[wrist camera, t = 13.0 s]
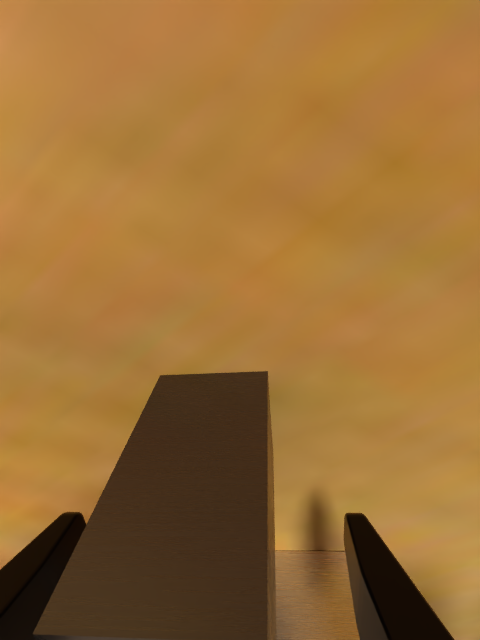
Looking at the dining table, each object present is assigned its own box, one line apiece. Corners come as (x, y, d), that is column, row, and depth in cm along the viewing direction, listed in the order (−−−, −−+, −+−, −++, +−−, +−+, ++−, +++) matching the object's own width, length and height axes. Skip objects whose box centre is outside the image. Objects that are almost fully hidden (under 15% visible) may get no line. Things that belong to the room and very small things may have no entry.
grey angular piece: (361, 367, 9) (490, 652, 4) (350, 578, 13) (409, 877, 8) (75, 378, 10) (-142, 628, 5) (139, 574, 14) (56, 842, 8)
